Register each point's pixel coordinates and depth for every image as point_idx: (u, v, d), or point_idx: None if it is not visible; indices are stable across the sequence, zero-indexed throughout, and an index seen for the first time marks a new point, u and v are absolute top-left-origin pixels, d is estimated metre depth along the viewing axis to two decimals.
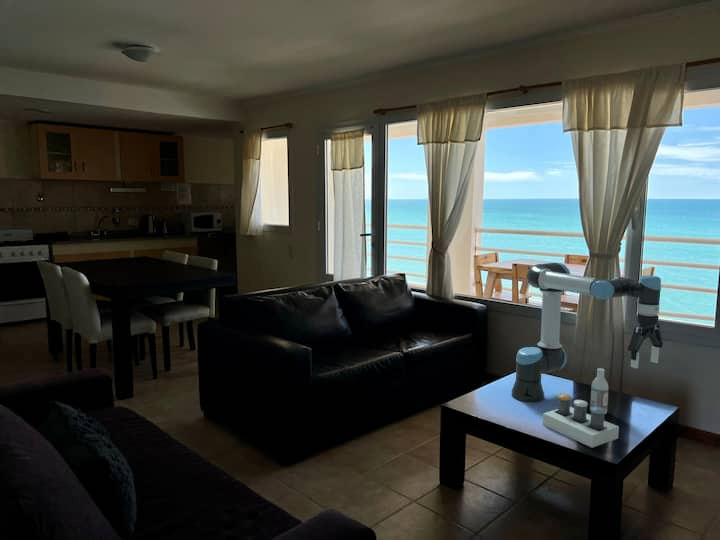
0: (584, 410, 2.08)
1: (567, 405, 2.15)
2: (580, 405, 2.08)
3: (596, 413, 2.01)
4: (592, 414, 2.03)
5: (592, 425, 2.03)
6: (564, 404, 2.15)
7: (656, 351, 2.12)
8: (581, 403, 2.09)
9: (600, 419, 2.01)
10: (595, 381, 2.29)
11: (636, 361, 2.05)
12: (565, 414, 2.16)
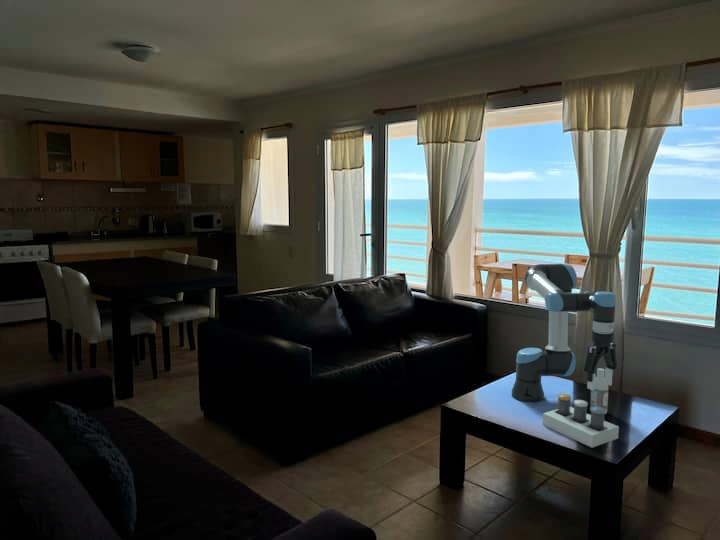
0: (584, 410, 2.08)
1: (567, 405, 2.15)
2: (580, 405, 2.08)
3: (596, 413, 2.01)
4: (592, 414, 2.03)
5: (592, 425, 2.03)
6: (564, 404, 2.15)
7: (610, 373, 2.03)
8: (581, 403, 2.09)
9: (600, 419, 2.01)
10: (595, 381, 2.29)
11: (592, 383, 1.98)
12: (565, 414, 2.16)
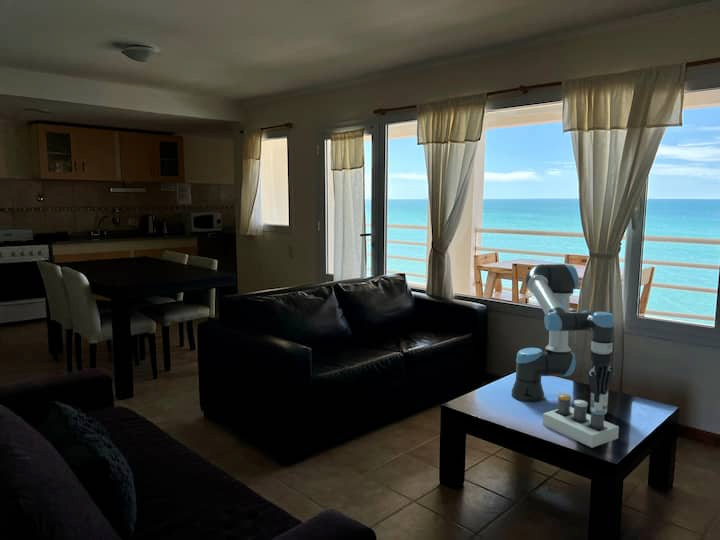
0: (584, 410, 2.08)
1: (567, 405, 2.15)
2: (580, 405, 2.08)
3: (596, 414, 2.01)
4: (592, 415, 2.03)
5: (592, 426, 2.03)
6: (564, 404, 2.15)
7: None
8: (581, 403, 2.09)
9: (600, 420, 2.01)
10: None
11: (599, 403, 2.02)
12: (565, 414, 2.16)
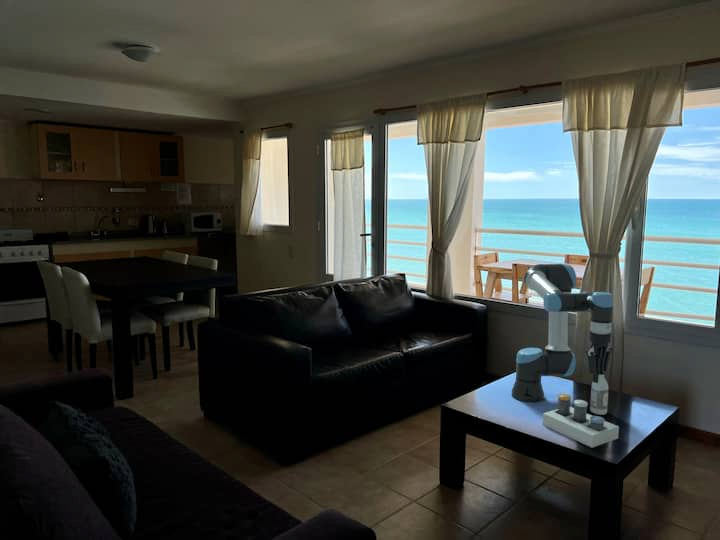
0: (584, 410, 2.08)
1: (567, 405, 2.15)
2: (580, 405, 2.08)
3: (595, 423, 2.02)
4: (591, 424, 2.04)
5: None
6: (564, 404, 2.15)
7: None
8: (581, 403, 2.09)
9: (600, 428, 2.02)
10: None
11: (598, 384, 2.02)
12: (565, 414, 2.16)
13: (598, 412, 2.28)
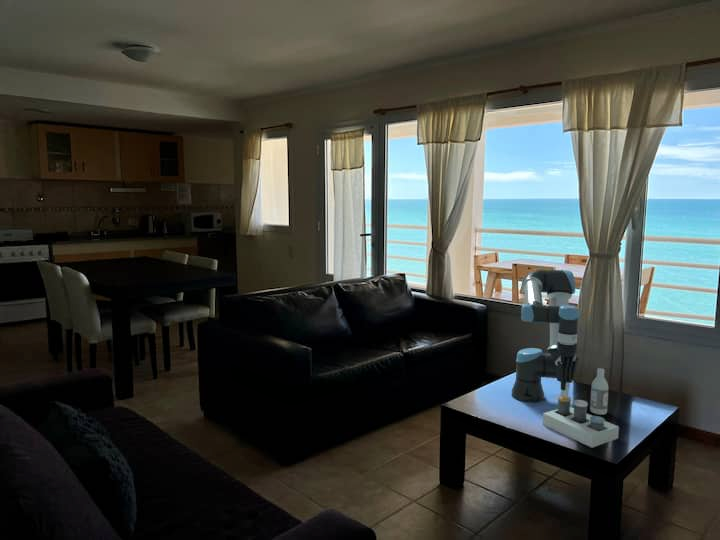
0: (584, 410, 2.08)
1: (566, 406, 2.15)
2: (580, 405, 2.08)
3: (595, 423, 2.02)
4: (591, 424, 2.04)
5: None
6: (564, 405, 2.15)
7: None
8: (581, 403, 2.09)
9: (600, 428, 2.02)
10: (595, 381, 2.29)
11: (565, 391, 2.16)
12: (565, 415, 2.16)
13: (598, 412, 2.28)
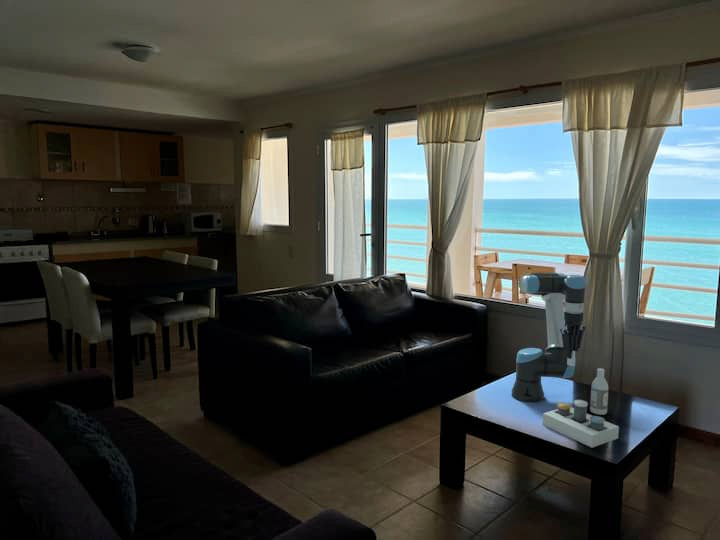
0: (584, 410, 2.08)
1: (566, 414, 2.16)
2: (580, 405, 2.08)
3: (595, 423, 2.02)
4: (591, 424, 2.04)
5: None
6: (564, 413, 2.16)
7: None
8: (581, 403, 2.09)
9: (600, 428, 2.02)
10: (595, 381, 2.29)
11: (571, 359, 2.19)
12: None
13: (598, 412, 2.28)
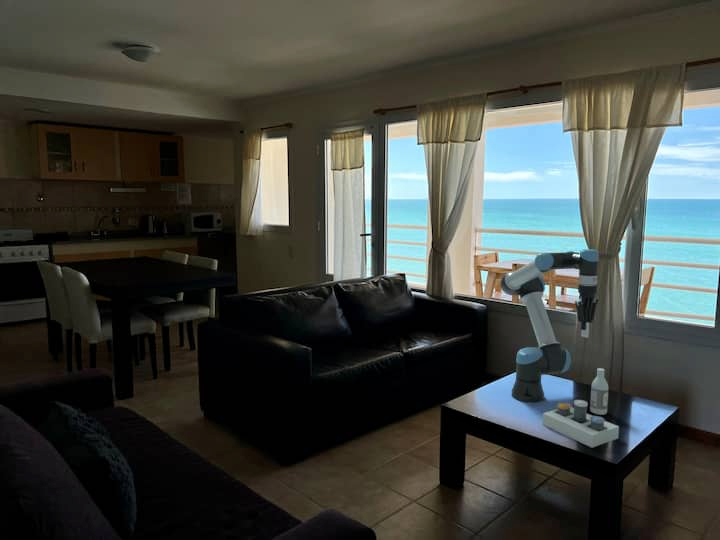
0: (584, 410, 2.08)
1: (566, 414, 2.16)
2: (580, 405, 2.08)
3: (595, 423, 2.02)
4: (591, 424, 2.04)
5: None
6: (564, 413, 2.16)
7: None
8: (581, 403, 2.09)
9: (600, 428, 2.02)
10: (595, 381, 2.29)
11: (585, 331, 2.27)
12: None
13: (598, 412, 2.28)
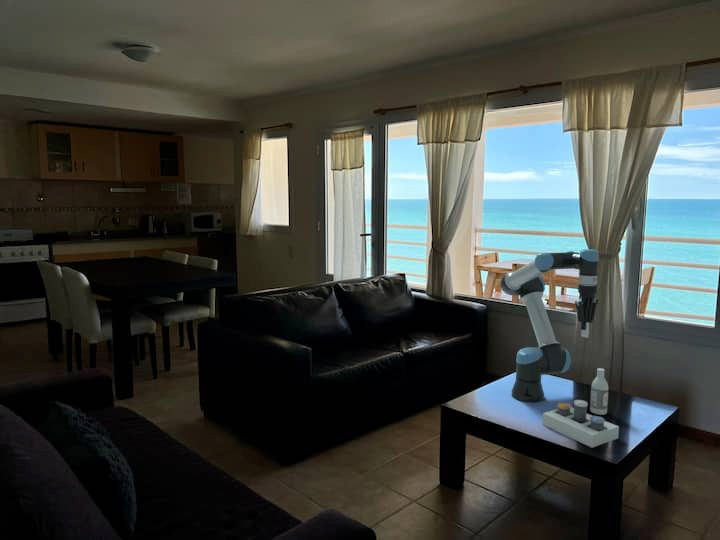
0: (584, 410, 2.08)
1: (566, 414, 2.16)
2: (580, 405, 2.08)
3: (595, 423, 2.02)
4: (591, 424, 2.04)
5: None
6: (564, 413, 2.16)
7: None
8: (581, 403, 2.09)
9: (600, 428, 2.02)
10: (595, 381, 2.29)
11: (585, 331, 2.27)
12: None
13: (598, 412, 2.28)
